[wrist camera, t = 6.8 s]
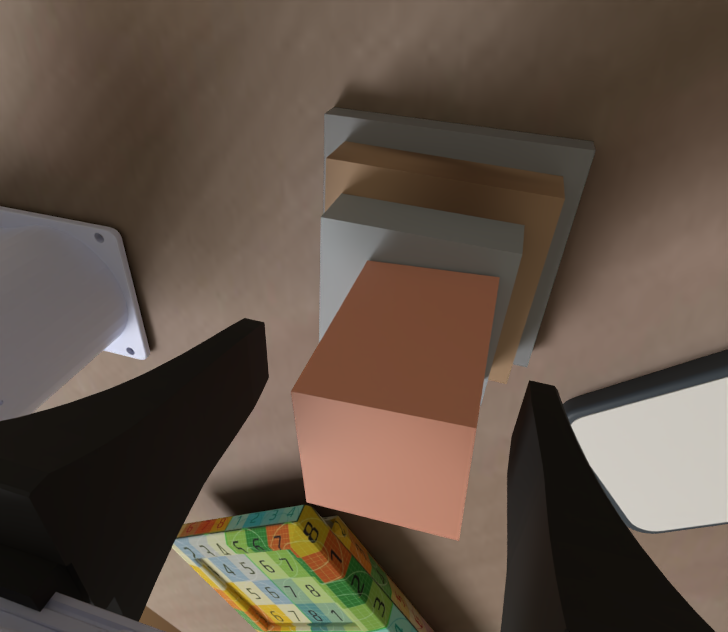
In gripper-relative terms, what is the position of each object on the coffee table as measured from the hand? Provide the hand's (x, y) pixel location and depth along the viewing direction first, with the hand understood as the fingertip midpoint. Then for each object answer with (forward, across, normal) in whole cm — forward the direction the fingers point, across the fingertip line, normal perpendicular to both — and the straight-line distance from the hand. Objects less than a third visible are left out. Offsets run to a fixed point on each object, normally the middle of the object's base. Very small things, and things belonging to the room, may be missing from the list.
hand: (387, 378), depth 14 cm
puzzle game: (+9, +4, +28) cm, 29 cm away
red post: (+3, 0, 0) cm, 3 cm away
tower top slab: (+5, 0, 0) cm, 5 cm away
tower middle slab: (+7, 0, 0) cm, 7 cm away
